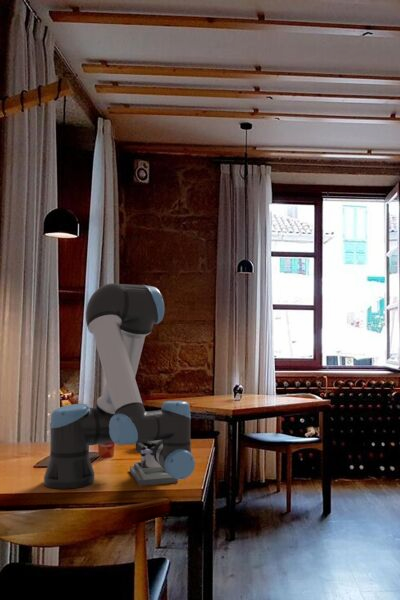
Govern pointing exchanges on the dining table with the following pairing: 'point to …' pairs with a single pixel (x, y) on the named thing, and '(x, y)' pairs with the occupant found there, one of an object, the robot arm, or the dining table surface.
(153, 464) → the can
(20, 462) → the dining table surface
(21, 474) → the dining table surface
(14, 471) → the dining table surface
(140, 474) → the pocket board
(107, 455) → the paper cup
